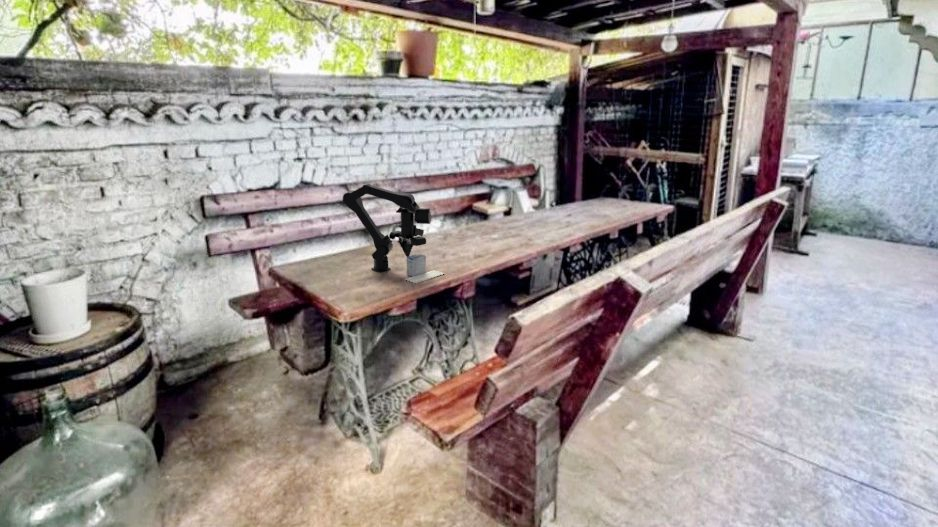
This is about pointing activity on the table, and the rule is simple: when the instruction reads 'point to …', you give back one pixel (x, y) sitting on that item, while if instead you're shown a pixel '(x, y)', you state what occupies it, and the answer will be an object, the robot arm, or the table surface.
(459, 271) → the table surface
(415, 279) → the white rectangular board
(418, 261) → the medicine box
